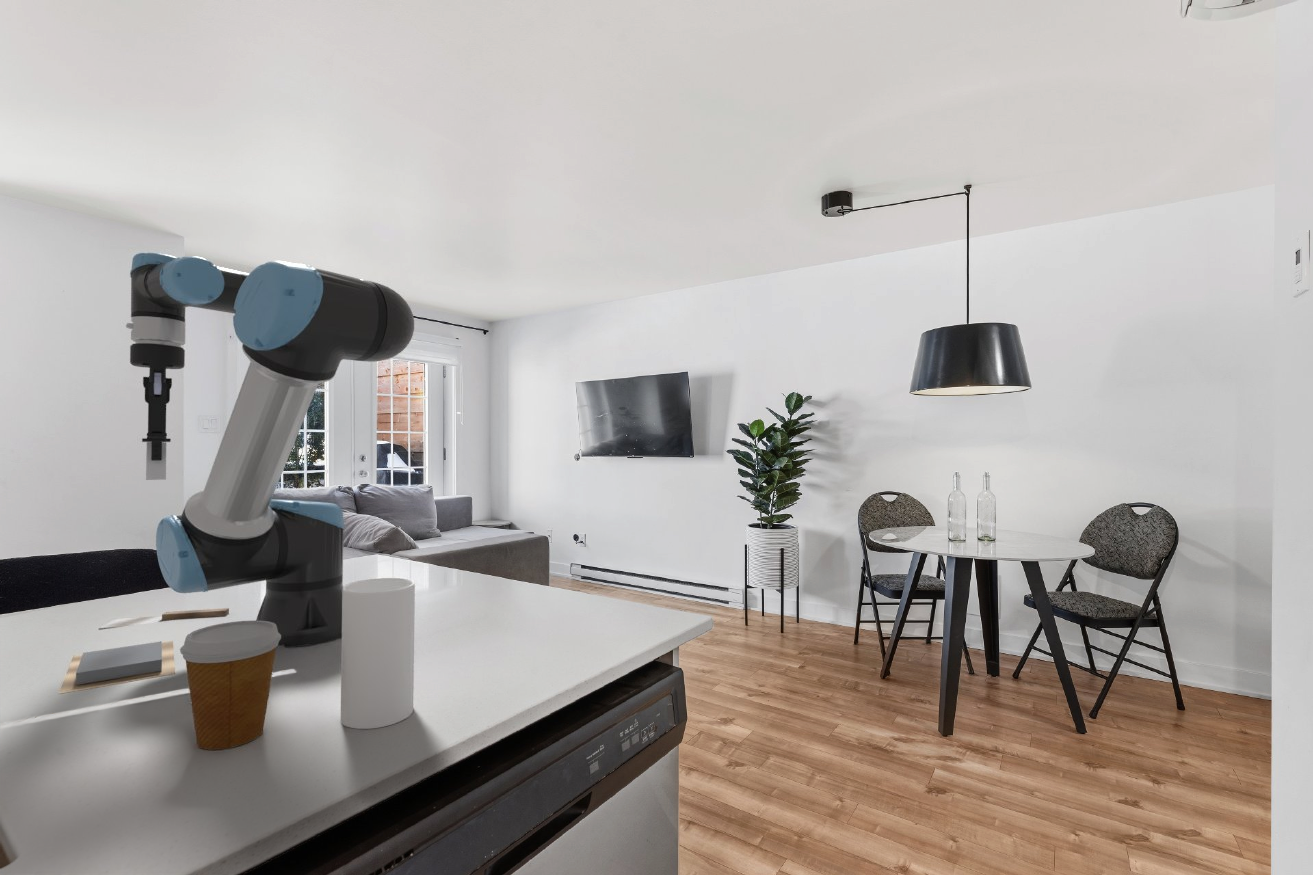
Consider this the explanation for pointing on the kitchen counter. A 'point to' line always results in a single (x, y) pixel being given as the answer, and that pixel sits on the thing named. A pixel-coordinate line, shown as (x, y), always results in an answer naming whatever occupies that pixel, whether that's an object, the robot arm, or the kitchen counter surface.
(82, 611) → the kitchen counter surface
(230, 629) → the disposable coffee cup
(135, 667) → the tile
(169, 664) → the board
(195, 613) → the turner
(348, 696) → the cup
